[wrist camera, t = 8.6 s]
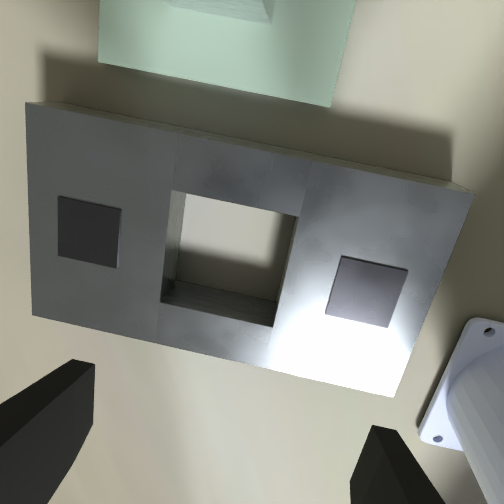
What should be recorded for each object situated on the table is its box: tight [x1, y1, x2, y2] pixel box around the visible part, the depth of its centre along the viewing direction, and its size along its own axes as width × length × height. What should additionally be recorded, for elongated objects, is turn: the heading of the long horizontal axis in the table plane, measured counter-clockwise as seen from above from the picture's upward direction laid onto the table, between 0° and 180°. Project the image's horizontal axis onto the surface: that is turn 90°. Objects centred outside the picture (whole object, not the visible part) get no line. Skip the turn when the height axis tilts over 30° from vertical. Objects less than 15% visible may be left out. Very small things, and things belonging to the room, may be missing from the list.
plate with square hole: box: [25, 102, 475, 397], centre depth 18 cm, size 18×10×3 cm, turn 80°
